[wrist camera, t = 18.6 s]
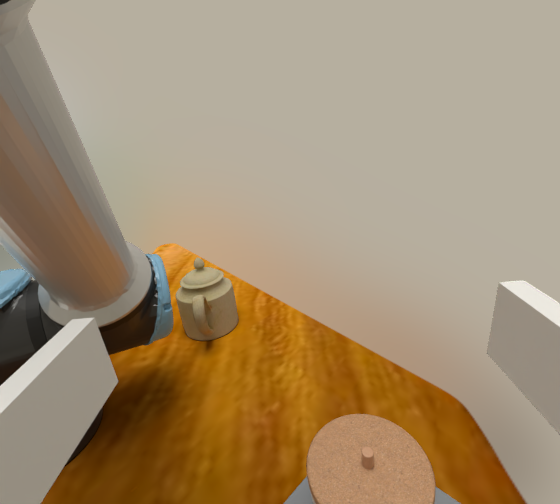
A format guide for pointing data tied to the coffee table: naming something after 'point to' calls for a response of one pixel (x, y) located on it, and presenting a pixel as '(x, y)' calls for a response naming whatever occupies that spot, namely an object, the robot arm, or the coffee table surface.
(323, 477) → the lidded jar
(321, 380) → the coffee table surface
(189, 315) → the beige teapot
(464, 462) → the coffee table surface
